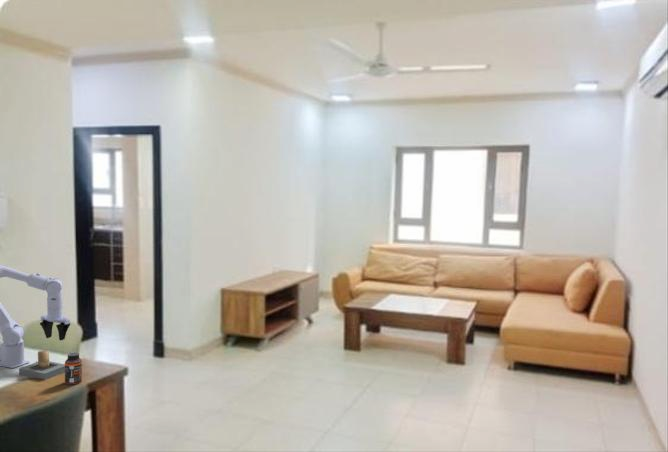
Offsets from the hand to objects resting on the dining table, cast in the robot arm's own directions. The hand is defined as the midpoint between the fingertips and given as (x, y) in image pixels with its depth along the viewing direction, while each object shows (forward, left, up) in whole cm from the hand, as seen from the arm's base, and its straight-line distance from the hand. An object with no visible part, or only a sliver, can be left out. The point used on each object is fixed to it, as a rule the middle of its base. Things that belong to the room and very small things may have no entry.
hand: (55, 338), depth 229 cm
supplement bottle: (+26, -15, -10) cm, 32 cm away
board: (+7, -12, -10) cm, 17 cm away
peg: (+7, -12, -9) cm, 17 cm away
